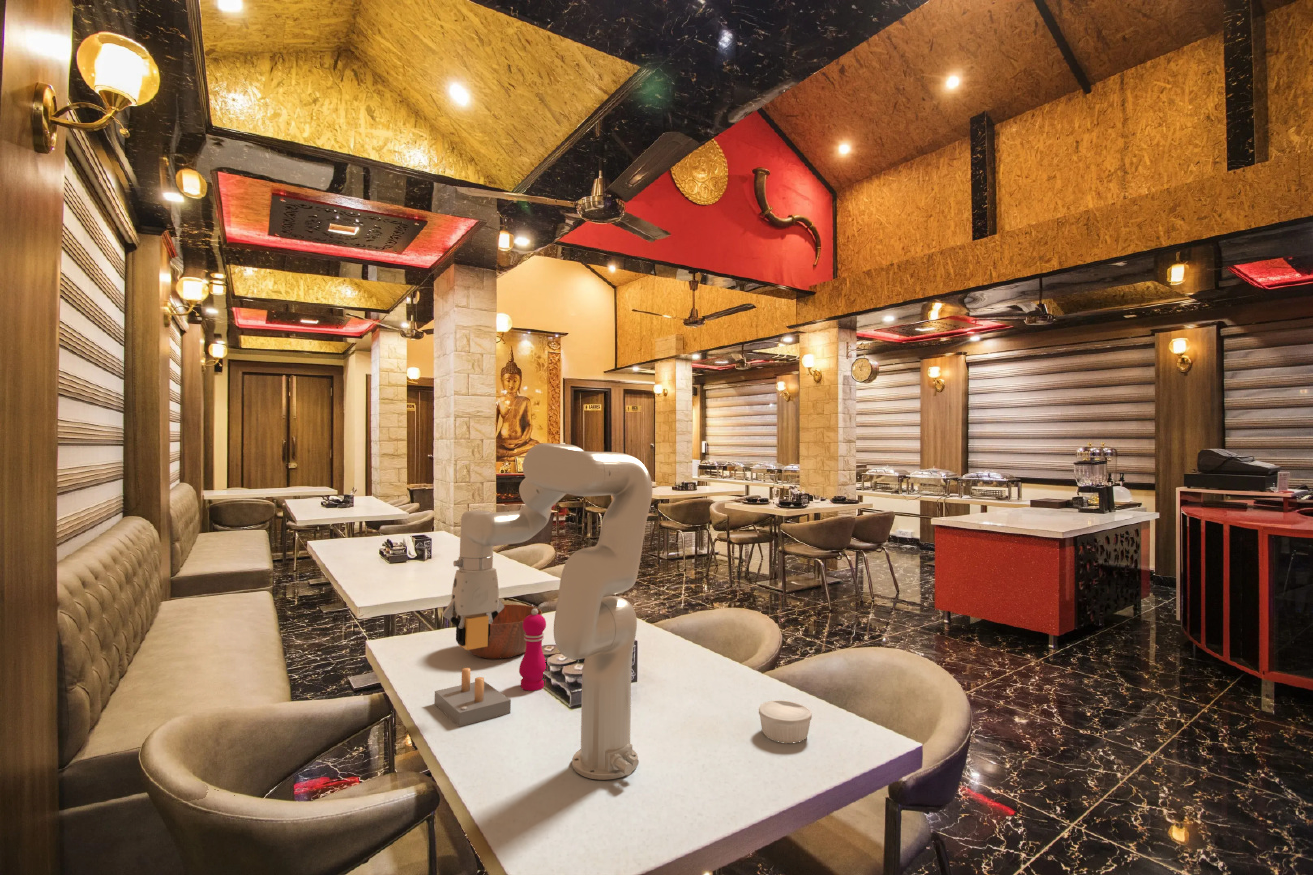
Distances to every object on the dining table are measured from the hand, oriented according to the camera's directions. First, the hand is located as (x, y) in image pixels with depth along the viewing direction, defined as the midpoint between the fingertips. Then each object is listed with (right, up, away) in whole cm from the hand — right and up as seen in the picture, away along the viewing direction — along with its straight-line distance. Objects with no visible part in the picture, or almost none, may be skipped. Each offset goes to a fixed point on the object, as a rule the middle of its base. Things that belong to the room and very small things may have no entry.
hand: (473, 641), depth 138 cm
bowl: (-5, -19, +45) cm, 49 cm away
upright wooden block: (0, -1, 0) cm, 1 cm away
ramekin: (+71, -17, -10) cm, 73 cm away
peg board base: (-1, -16, +1) cm, 16 cm away
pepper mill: (+11, -17, +16) cm, 26 cm away
